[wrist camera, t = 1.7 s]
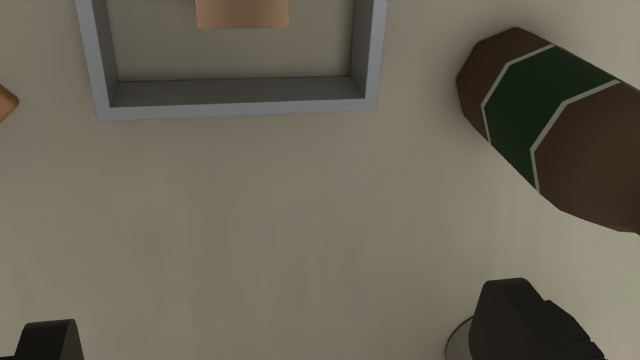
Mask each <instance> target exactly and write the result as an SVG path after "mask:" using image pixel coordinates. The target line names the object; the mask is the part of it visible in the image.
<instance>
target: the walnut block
mask: <svg viewBox="0 0 640 360" xmlns="http://www.w3.org/2000/svg"><path fill="white" fill-rule="evenodd" d="M195 4H196V17H197V29H209V28H289V0H195Z"/></svg>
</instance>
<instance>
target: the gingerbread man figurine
mask: <svg viewBox="0 0 640 360" xmlns="http://www.w3.org/2000/svg"><path fill="white" fill-rule="evenodd" d="M18 104H19V99H18V98H17V97H16V96H15V95H14V94H12V93H11V92H10V91H8V90H7V89H6V88H4V87H3V86H2V85H1V84H0V123H1V122H2V121H3V120H4V119H5V118H6V117H7V116H8V115H9V114H10V113H11V112H12V111H13V110H14V109H15V108H16V107H17V105H18Z"/></svg>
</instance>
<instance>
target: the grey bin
mask: <svg viewBox="0 0 640 360" xmlns="http://www.w3.org/2000/svg"><path fill="white" fill-rule="evenodd" d="M387 3H388V0H355V14H354V27H353V41H352V54H351V68H350V76H327V77H291V78H254V79H218V80H182V81H146V82H118V75H117V69H116V63H115V56H114V50H113V44H112V38H111V31H110V25H109V19H108V12H107V6H106V0H75V5H76V10H77V16H78V21H79V26H80V31H81V37H82V42H83V47H84V53H85V58H86V63H87V69H88V74H89V79H90V85H91V90H92V95H93V101H94V106H95V111H96V117H97V121H115V120H140V119H165V118H190V117H215V116H240V115H265V114H290V113H315V112H340V111H365V110H376V108H377V99H378V89H379V80H380V70H381V60H382V51H383V41H384V32H385V22H386V12H387Z"/></svg>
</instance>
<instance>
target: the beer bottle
mask: <svg viewBox="0 0 640 360" xmlns="http://www.w3.org/2000/svg"><path fill="white" fill-rule="evenodd" d="M457 85H458V89H459V94H460V98H461V102H462V107H463V111H464V115H465V117H466V118H467V119H468V121H469V122H470V123H471V124H472V126H473V127H474V128H475V129H476V130H477V131H478V132H479V133H480V134H481V135H482V136H483V137H484V138H485V139H486V140H487V141H488V142H489V143H490V144H491V145H492V146H493V147H494V148H495V149H496V150H497V151H498V152H499V153H500V154H501V155H502V156H503V157H504V158H505V159H506V160H507V161H508V162H509V163H510V164H511V165H512V166H513V167H514V168H515V169H516V170H517V171H518V172H519V173H520V174H521V175H522V176H523V177H524V178H525V179H526V180H527V181H528V182H529V183H530V184H531V185H532V186H533V187H534V188H535V189H536V190H537V191H538V192H539V193H540V194H541V195H542V196H543V197H544V198H546V199H547V200H548V201H549V202H551V203H552V204H553V205H554V206H555V207H557V208H558V209H559V210H561V211H563V212H566V213H568V214H571V215H573V216H576V217H578V218H581V219H584V220H586V221H589V222H592V223H595V224H598V225H601V226H604V227H607V228H610V229H613V230H616V231H620V232H633V233H636V234H638V235H640V90H638V89H636V88H635V87H633V86H631V85H629V84H627V83H625V82H624V81H622V80H620V79H618V78H616V77H614V76H613V75H611V74H609V73H607V72H605V71H603V70H602V69H600V68H598V67H596V66H594V65H592V64H591V63H589V62H587V61H585V60H583V59H581V58H580V57H578V56H576V55H574V54H572V53H571V52H569V51H567V50H565V49H563V48H561V47H559V46H557V45H555V44H553V43H551V42H549V41H547V40H545V39H543V38H541V37H539V36H537V35H535V34H533V33H530V32H528V31H526V30H523V29H521V28H519V27H518V28H515V29H512V30H510V31H508V32H505V33H503V34H500V35H498V36H496V37H493V38H491V39H489V40H486V41H484V42H482V43H479V44H477V46H476V48H475V49H474V51H473V53H472V55H471V56H470V58H469V60H468V62H467V63H466V65H465V67H464V68H463V70H462V72H461V74H460V75H459V77H458V79H457Z"/></svg>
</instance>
